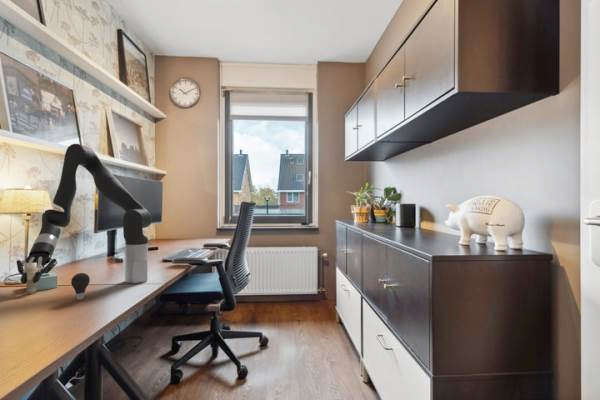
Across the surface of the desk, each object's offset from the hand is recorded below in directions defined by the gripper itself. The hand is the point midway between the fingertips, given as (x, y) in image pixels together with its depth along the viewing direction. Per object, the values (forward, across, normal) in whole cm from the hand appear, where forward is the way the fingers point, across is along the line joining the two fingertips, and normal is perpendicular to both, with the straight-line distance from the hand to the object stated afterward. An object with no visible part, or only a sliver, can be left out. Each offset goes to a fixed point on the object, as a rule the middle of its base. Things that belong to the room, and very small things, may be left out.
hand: (28, 282), depth 118 cm
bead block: (-4, 0, +11) cm, 12 cm away
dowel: (+2, 0, +5) cm, 5 cm away
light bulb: (+13, +21, -6) cm, 25 cm away
